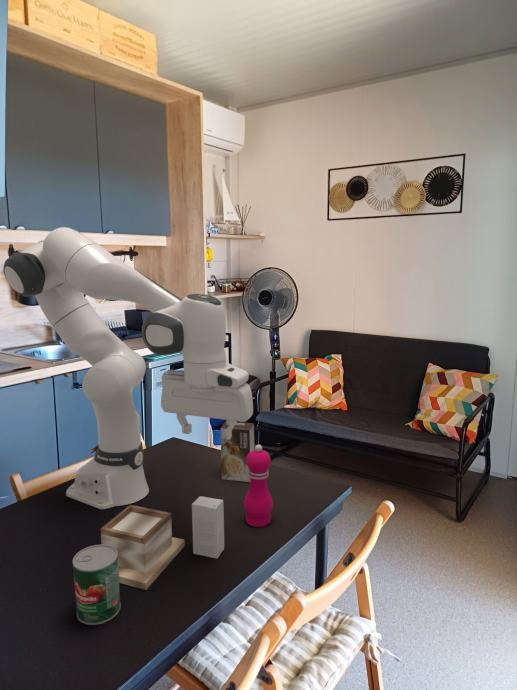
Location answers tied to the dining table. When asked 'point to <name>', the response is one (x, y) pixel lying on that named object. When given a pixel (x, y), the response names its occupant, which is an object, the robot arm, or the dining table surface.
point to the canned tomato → (96, 584)
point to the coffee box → (237, 451)
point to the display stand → (141, 544)
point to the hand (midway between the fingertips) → (206, 435)
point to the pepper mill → (258, 489)
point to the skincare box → (208, 527)
